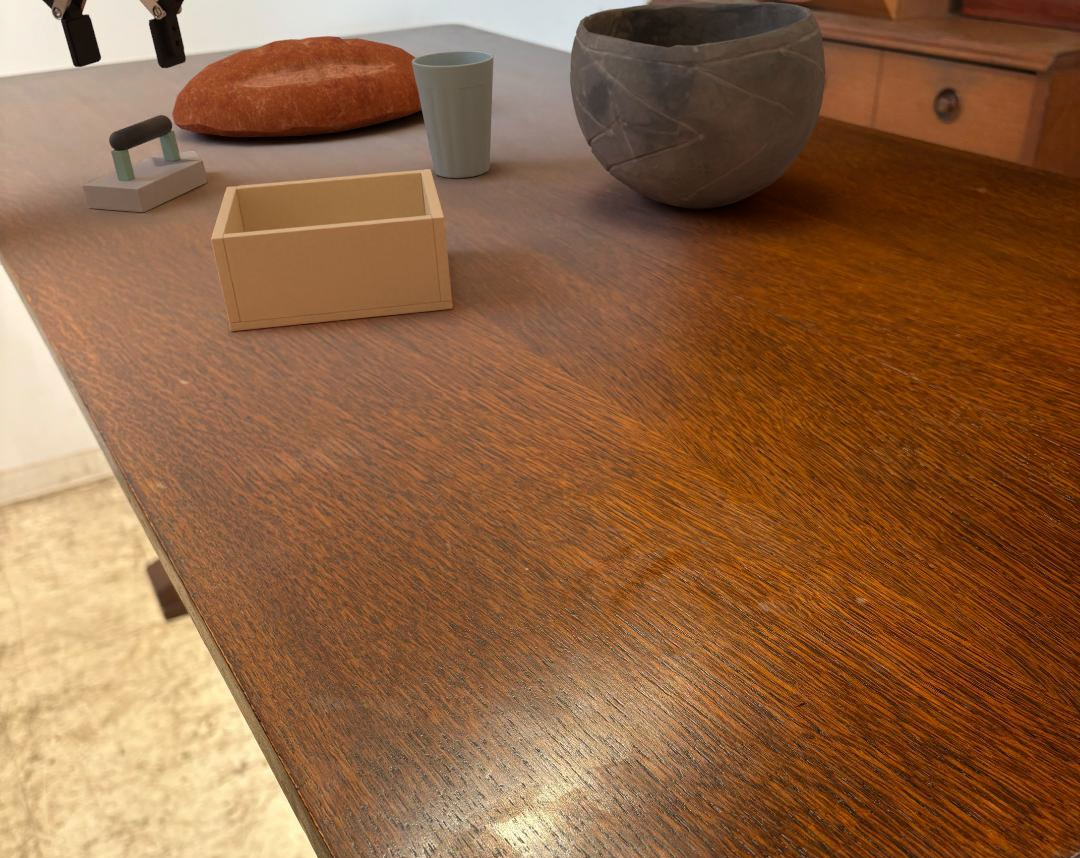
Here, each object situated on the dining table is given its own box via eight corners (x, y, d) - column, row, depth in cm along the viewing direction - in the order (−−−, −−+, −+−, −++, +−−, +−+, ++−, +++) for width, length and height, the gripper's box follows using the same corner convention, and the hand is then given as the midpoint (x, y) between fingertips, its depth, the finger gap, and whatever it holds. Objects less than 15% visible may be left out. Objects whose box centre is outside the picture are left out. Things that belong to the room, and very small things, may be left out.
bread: (469, 123, 125) (462, 38, 120) (185, 160, 116) (165, 71, 111) (419, 87, 142) (412, 13, 137) (170, 117, 134) (152, 39, 129)
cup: (426, 162, 111) (415, 52, 105) (501, 158, 111) (494, 48, 105) (419, 183, 105) (407, 67, 99) (499, 179, 105) (492, 63, 99)
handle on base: (143, 212, 101) (125, 140, 97) (88, 208, 103) (68, 137, 99) (226, 174, 111) (212, 107, 107) (174, 170, 113) (159, 104, 109)
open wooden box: (230, 331, 76) (210, 238, 72) (243, 270, 86) (226, 186, 82) (452, 309, 77) (444, 217, 74) (438, 251, 88) (430, 168, 84)
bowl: (561, 175, 105) (555, 3, 96) (776, 160, 106) (789, -11, 97) (588, 245, 87) (585, 43, 79) (845, 227, 88) (868, 25, 80)
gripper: (-39, -147, 90) (28, 72, 100) (128, -160, 85) (182, 74, 94) (25, -153, 96) (83, 55, 106) (186, -164, 90) (232, 57, 100)
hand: (130, 64), depth 100 cm, fingers open, 9 cm apart
